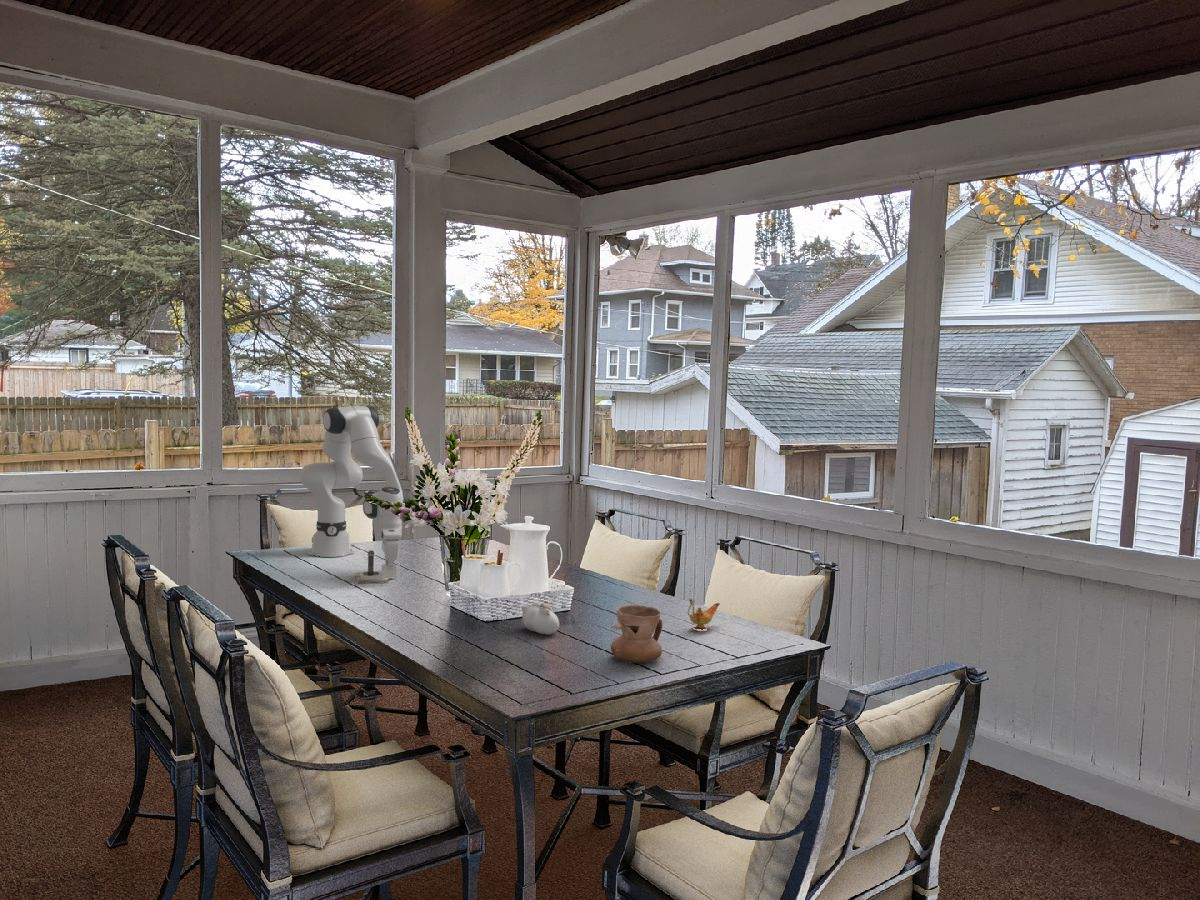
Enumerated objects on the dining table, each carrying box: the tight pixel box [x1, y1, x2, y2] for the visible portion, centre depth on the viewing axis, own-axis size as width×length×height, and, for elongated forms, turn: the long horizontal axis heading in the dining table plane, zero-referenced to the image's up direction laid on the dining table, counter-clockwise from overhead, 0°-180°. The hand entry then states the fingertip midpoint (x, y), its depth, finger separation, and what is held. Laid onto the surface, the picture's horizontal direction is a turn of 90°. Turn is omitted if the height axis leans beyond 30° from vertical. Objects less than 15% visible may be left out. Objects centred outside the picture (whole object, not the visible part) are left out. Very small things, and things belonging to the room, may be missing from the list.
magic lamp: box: [687, 598, 721, 630], centre depth 285 cm, size 7×18×11 cm, turn 139°
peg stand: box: [354, 550, 389, 584], centre depth 336 cm, size 13×11×11 cm
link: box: [358, 563, 397, 580], centre depth 335 cm, size 8×13×4 cm, turn 109°
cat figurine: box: [520, 601, 560, 636], centre depth 275 cm, size 10×8×15 cm
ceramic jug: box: [610, 604, 663, 664], centre depth 252 cm, size 18×14×14 cm
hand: (389, 567), depth 337 cm, fingers open, 8 cm apart
